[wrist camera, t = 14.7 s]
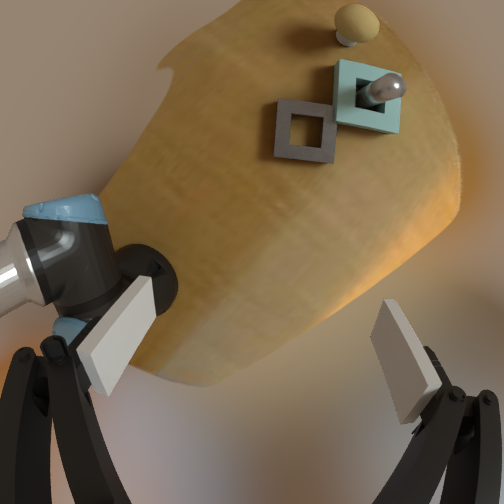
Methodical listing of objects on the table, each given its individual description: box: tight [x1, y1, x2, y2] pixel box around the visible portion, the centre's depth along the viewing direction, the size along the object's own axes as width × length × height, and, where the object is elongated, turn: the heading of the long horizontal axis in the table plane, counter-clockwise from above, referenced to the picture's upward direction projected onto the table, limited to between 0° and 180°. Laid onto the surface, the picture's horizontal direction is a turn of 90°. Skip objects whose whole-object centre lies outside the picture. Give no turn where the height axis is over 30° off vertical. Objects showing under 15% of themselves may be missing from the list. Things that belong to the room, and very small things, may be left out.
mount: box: [274, 99, 337, 164], centre depth 38 cm, size 9×9×2 cm
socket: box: [332, 59, 401, 134], centre depth 35 cm, size 10×10×4 cm
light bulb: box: [334, 4, 379, 46], centre depth 28 cm, size 6×6×10 cm
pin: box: [355, 73, 406, 108], centre depth 30 cm, size 3×3×13 cm
